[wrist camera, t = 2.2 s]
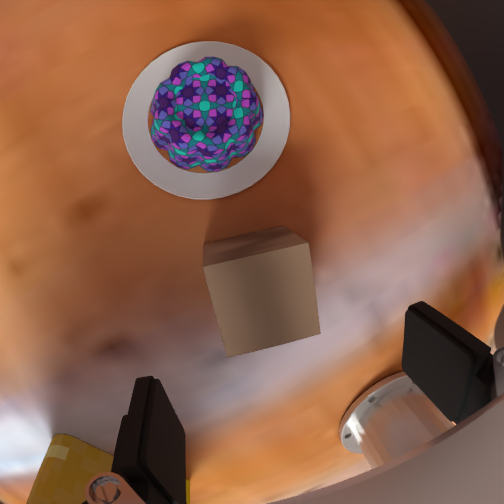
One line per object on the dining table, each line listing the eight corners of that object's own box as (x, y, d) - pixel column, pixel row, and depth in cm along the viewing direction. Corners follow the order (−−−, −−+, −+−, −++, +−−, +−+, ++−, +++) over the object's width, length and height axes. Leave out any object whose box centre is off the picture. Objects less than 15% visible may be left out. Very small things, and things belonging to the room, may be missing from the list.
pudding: (290, 195, 23) (313, 200, 18) (128, 205, 21) (105, 214, 16) (283, 46, 20) (302, 16, 15) (127, 53, 18) (108, 25, 13)
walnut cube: (283, 225, 23) (308, 242, 17) (295, 298, 25) (320, 333, 19) (203, 243, 22) (202, 266, 17) (222, 316, 24) (227, 357, 18)
